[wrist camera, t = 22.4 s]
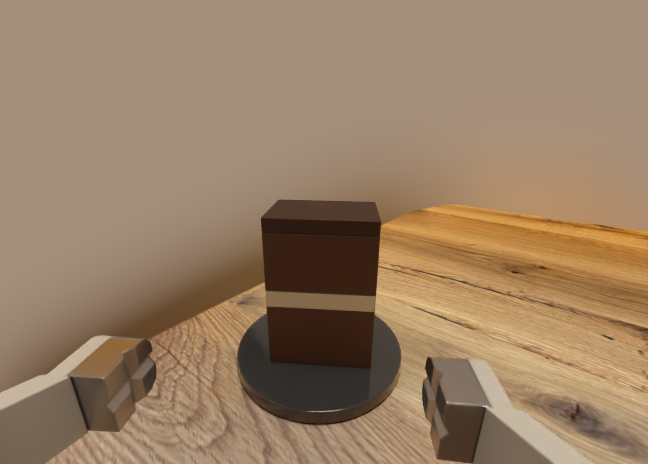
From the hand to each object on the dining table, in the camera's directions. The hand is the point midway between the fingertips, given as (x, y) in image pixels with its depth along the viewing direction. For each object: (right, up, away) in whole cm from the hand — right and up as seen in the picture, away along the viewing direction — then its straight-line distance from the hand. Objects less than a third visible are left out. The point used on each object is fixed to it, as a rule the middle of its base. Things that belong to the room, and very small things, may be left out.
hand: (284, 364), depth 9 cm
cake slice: (+1, -3, +11) cm, 12 cm away
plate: (+1, -4, +11) cm, 12 cm away
